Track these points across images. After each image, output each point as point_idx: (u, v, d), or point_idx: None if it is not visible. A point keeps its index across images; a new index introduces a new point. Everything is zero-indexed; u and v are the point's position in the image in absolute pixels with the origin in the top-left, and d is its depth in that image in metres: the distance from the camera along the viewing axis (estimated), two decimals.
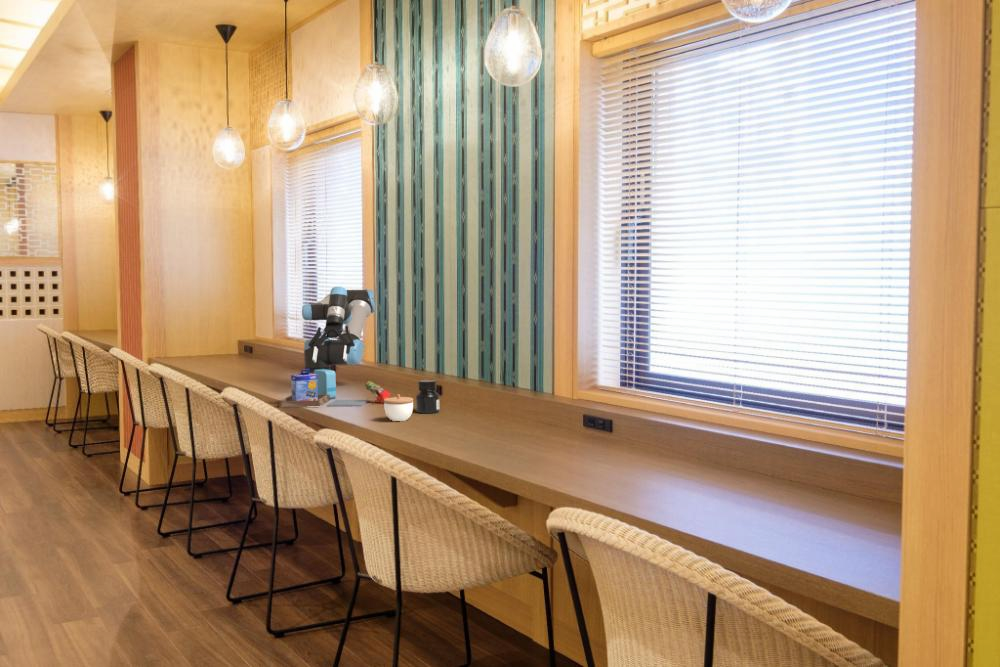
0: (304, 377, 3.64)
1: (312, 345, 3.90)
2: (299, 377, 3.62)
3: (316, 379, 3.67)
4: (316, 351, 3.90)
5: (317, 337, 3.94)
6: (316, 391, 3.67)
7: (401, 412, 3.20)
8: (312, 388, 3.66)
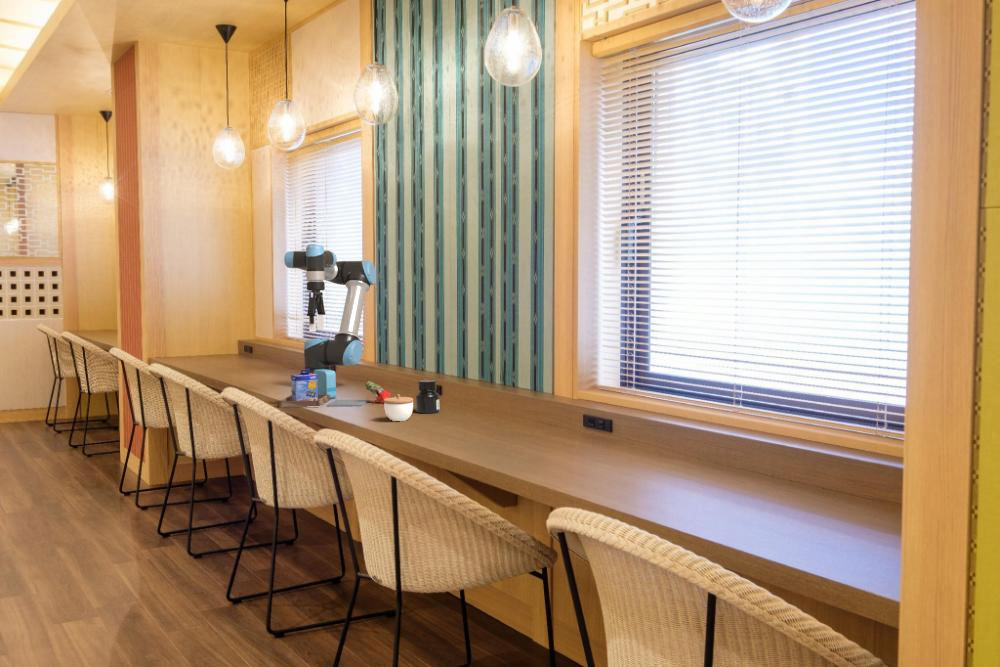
0: (304, 377, 3.64)
1: (318, 313, 3.93)
2: (299, 377, 3.62)
3: (316, 379, 3.67)
4: (320, 318, 3.92)
5: None
6: (316, 391, 3.67)
7: (401, 412, 3.20)
8: (312, 388, 3.66)
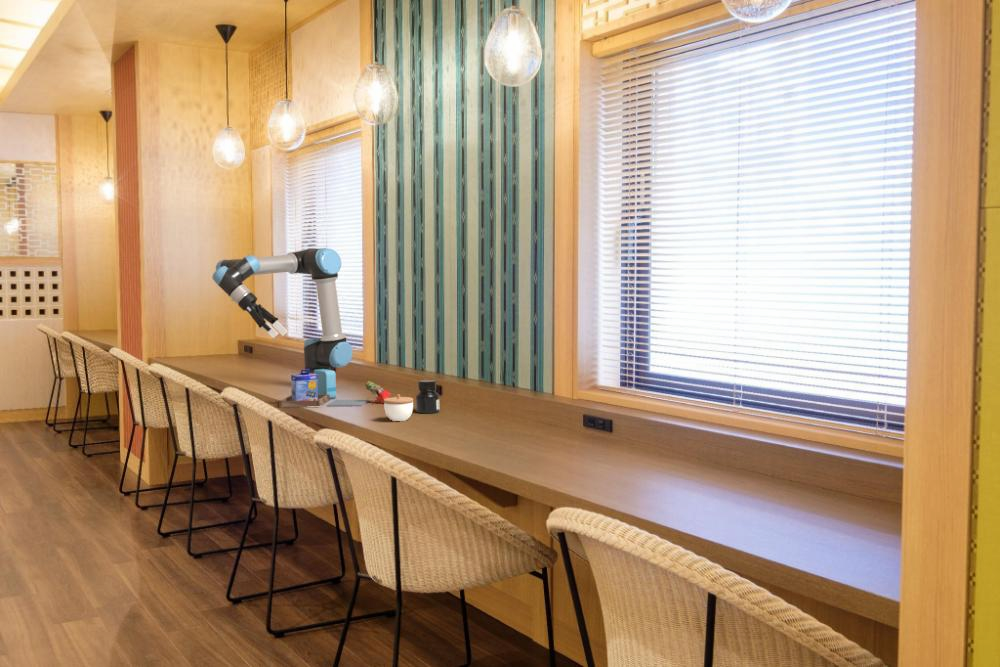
0: (304, 377, 3.64)
1: (272, 323, 3.74)
2: (299, 377, 3.62)
3: (316, 379, 3.67)
4: (277, 325, 3.73)
5: None
6: (316, 391, 3.67)
7: (401, 412, 3.20)
8: (312, 388, 3.66)
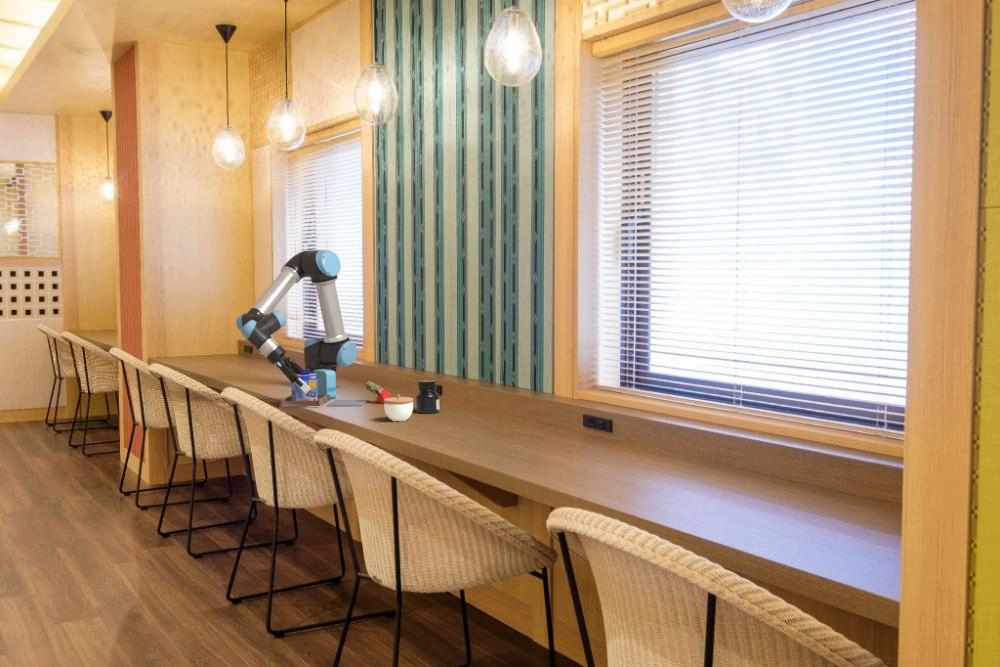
0: (304, 377, 3.64)
1: None
2: (299, 377, 3.62)
3: (316, 379, 3.67)
4: None
5: None
6: (316, 391, 3.67)
7: (401, 412, 3.20)
8: (312, 388, 3.66)
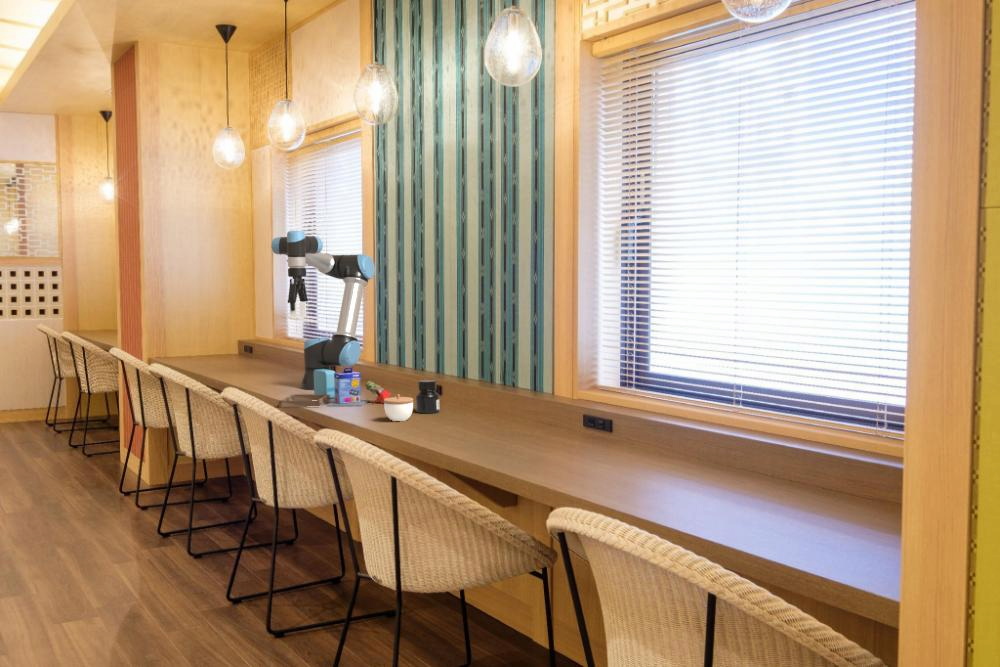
0: (347, 375, 3.62)
1: None
2: (342, 375, 3.61)
3: (359, 377, 3.65)
4: (302, 305, 3.86)
5: None
6: (359, 389, 3.66)
7: (401, 412, 3.20)
8: (355, 386, 3.64)
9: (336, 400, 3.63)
